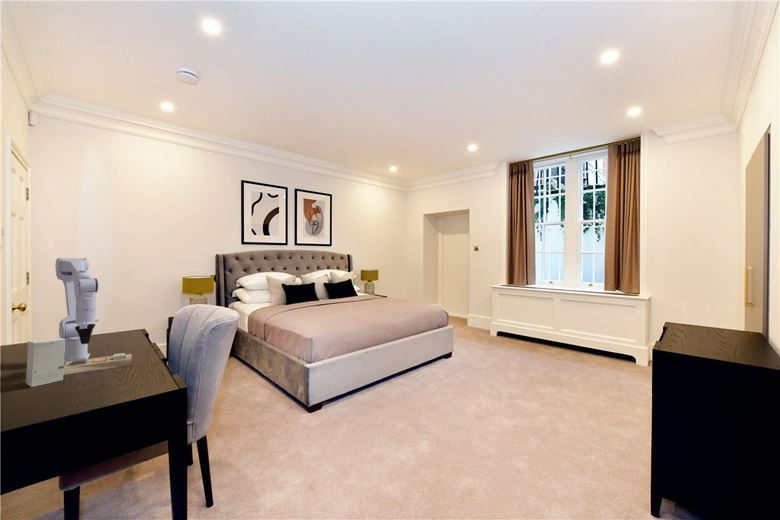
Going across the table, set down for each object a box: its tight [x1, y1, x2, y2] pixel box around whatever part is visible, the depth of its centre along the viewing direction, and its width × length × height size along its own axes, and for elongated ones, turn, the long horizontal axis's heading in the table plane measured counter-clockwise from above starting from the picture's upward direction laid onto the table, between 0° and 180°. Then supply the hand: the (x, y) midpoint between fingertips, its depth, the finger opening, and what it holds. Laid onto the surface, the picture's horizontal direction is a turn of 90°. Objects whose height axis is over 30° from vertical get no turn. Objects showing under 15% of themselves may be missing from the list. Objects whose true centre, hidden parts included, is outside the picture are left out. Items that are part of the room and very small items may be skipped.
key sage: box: [112, 352, 126, 360], centre depth 135 cm, size 4×4×2 cm
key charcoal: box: [72, 358, 86, 365], centre depth 127 cm, size 4×4×2 cm
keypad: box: [63, 353, 132, 376], centre depth 131 cm, size 9×20×2 cm, turn 128°
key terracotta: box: [93, 357, 106, 363], centre depth 131 cm, size 4×4×2 cm
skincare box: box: [25, 336, 65, 388], centre depth 115 cm, size 8×6×15 cm
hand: (85, 343), depth 130 cm, fingers closed
